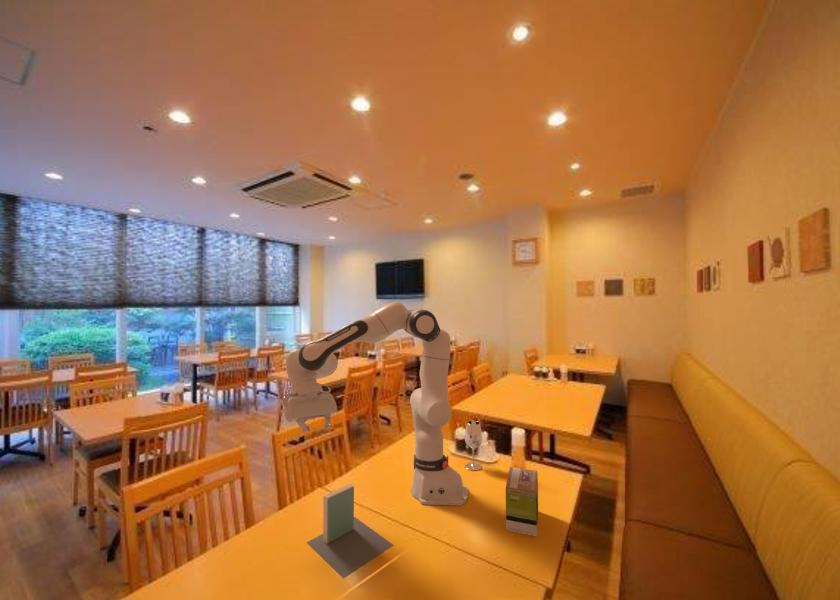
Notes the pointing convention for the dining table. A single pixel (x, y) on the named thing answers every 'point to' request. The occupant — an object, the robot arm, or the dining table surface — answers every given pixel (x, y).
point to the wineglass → (473, 441)
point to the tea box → (522, 501)
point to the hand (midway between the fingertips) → (318, 429)
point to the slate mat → (351, 548)
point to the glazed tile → (338, 513)
